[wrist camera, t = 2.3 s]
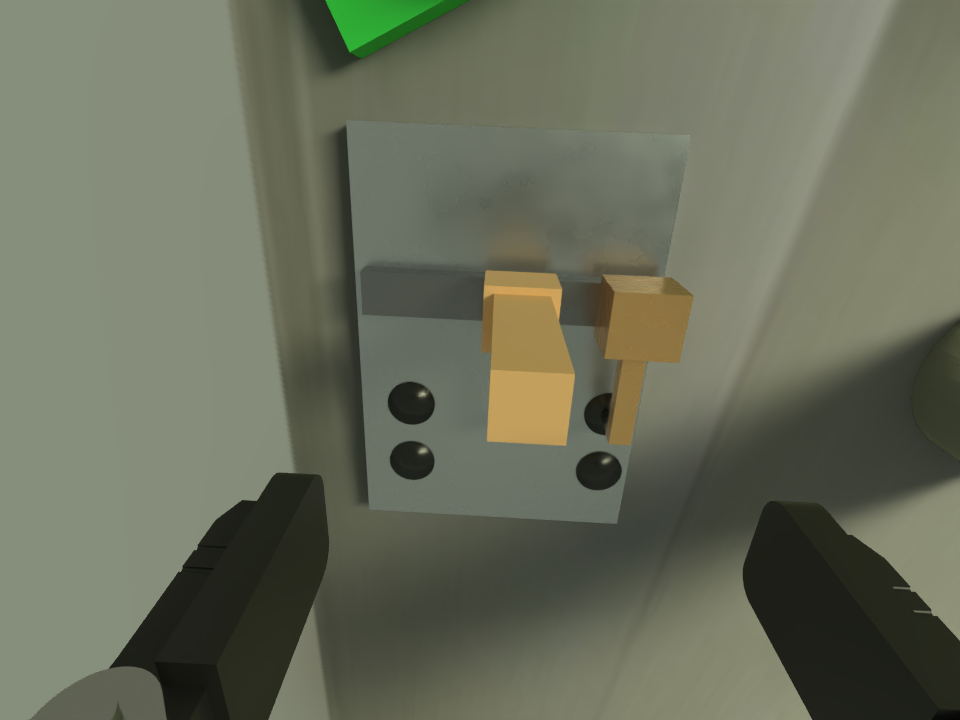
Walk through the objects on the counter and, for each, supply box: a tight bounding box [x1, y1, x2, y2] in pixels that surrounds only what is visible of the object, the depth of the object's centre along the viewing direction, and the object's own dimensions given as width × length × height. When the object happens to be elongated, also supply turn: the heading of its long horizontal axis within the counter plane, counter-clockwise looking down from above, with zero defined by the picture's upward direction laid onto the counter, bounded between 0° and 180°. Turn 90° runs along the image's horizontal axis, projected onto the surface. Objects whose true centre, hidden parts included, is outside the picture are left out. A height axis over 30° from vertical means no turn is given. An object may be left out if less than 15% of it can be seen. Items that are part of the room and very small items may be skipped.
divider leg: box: [481, 270, 575, 446], centre depth 20 cm, size 3×8×10 cm, turn 178°
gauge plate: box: [346, 120, 694, 524], centre depth 24 cm, size 14×20×5 cm
